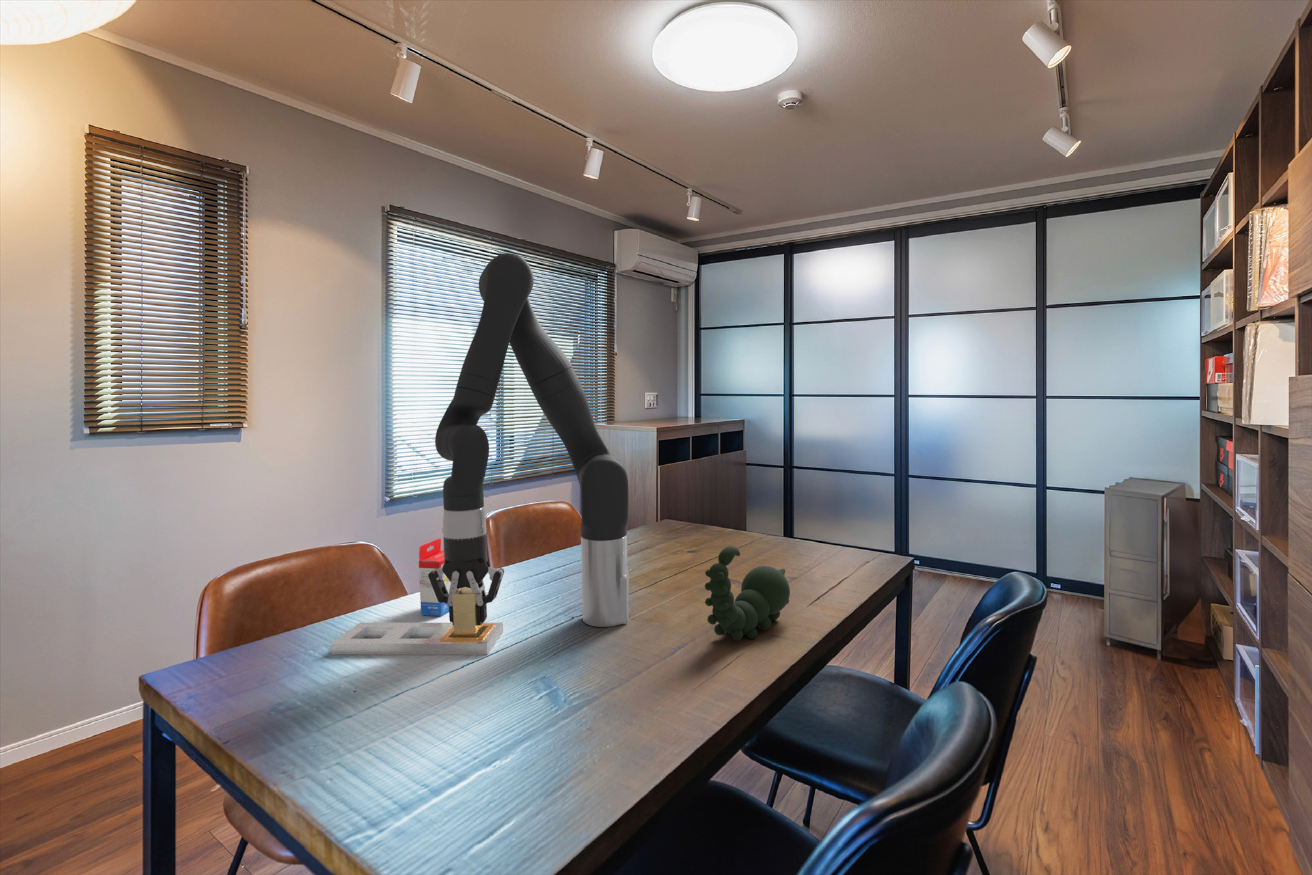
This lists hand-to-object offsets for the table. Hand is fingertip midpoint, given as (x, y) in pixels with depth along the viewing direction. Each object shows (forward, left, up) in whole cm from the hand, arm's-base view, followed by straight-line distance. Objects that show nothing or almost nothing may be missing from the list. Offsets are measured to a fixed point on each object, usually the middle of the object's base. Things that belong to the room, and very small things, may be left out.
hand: (468, 623), depth 113 cm
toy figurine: (-53, -7, -4) cm, 53 cm away
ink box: (+12, -18, -4) cm, 22 cm away
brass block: (0, 0, -3) cm, 3 cm away
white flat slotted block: (+9, 0, -4) cm, 10 cm away
